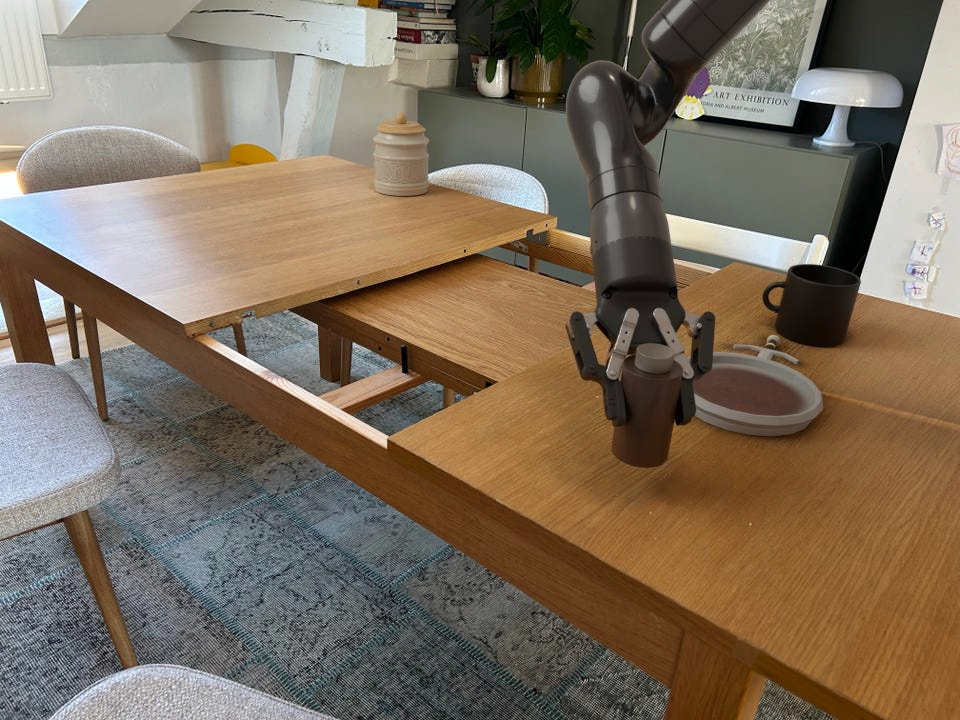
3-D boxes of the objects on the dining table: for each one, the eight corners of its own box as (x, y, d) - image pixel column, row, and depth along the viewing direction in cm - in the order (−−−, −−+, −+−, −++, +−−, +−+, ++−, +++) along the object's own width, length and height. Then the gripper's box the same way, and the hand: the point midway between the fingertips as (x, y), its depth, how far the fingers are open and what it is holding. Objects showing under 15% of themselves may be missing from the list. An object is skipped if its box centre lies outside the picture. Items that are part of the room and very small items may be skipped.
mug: (759, 313, 112) (772, 256, 108) (844, 329, 108) (861, 270, 104) (752, 335, 104) (766, 275, 100) (844, 353, 100) (861, 291, 96)
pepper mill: (674, 447, 69) (692, 346, 65) (658, 474, 65) (677, 369, 61) (621, 431, 71) (635, 333, 67) (603, 457, 67) (617, 354, 63)
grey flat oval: (843, 344, 97) (814, 433, 75) (838, 364, 98) (807, 457, 76) (714, 315, 104) (652, 387, 82) (710, 334, 106) (649, 410, 83)
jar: (430, 185, 180) (431, 110, 173) (427, 198, 169) (428, 118, 161) (376, 183, 180) (375, 107, 172) (370, 195, 168) (369, 115, 160)
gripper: (565, 232, 66) (581, 415, 61) (719, 233, 67) (748, 412, 62) (550, 268, 73) (563, 435, 68) (689, 269, 75) (713, 432, 69)
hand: (652, 423), depth 65 cm, fingers closed on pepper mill, 5 cm apart
